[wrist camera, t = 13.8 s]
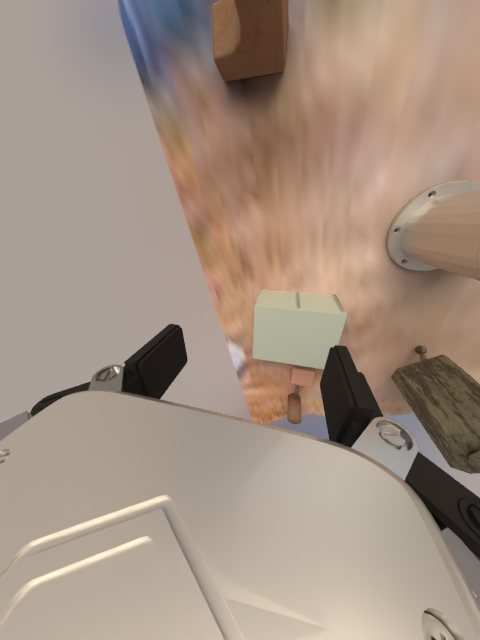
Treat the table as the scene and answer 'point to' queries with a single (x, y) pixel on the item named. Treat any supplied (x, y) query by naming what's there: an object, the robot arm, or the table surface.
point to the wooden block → (249, 37)
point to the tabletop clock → (445, 407)
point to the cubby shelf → (296, 327)
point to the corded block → (298, 377)
